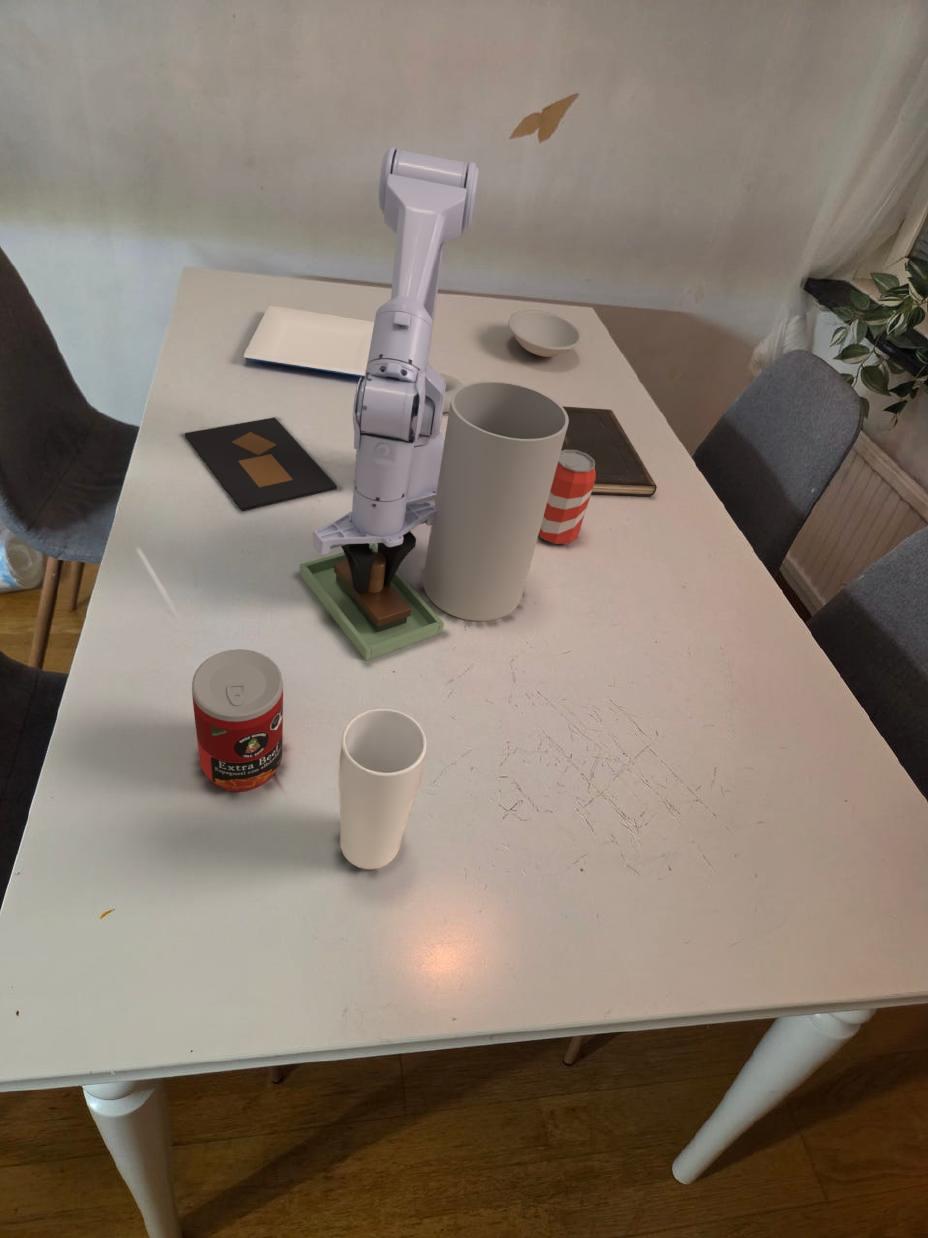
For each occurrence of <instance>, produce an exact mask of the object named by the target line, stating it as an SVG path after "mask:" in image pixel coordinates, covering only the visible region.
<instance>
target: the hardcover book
mask: <svg viewBox="0 0 928 1238" xmlns="http://www.w3.org/2000/svg"><path fill="white" fill-rule="evenodd" d="M561 406H562V407H563V408H564V409H565V411H566V413H567V415H568V418H569V423H568V427H567V431H566V434H565V438H564V442H563V445H562V449H561V451H563V450H577V451H580V452H583V453H586V454H588V455H589V456H590V457H591V458H592V459H593V460H594V461H595V471H596V479H595V483H594V486H593V489H592V492H591V495H595V496H596V495H599V496H620V497H621V496H623V497H649V498H650V497H653V496H654V495H655V493H656V491H657V488H658V486H657V484H656V482H655V481H654V479H653V477H652V476H651V474H650V473H649V470H648V469H647V466H645V463H644V462H643V461H642V459H641V457H640V455H639V453H638V452H637V450H636V449H635V447H634V445H633V444H632V442H631V440H630V438H629V437H628V434H627V433H626V432H625V430H624V428H623V425H621V423H620V422H619V420H618V418H617V416H616V414H615V412H614V411H613V410H612V409H609V408H608V409H607V408H595V407H593V408H591V407H577V406H563V405H561Z"/></svg>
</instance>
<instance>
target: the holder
mask: <svg viewBox="0 0 928 1238" xmlns="http://www.w3.org/2000/svg"><path fill="white" fill-rule="evenodd" d="M370 549H371V550H372V551H373V552H378V546H376V545H375V543H370ZM344 561H347V558H346V556H345V554H344V551H343V552H339V553H335V554H331V555H329V556H324V557H321V558H318V559H314V560H310V561H307V562H304V563H299V576H300V577H301V578H302V580H303V581H304V582H305V583H306V585H307V586H308V588H309V589H310V590H311V591H312V592H313V594H314V595H315V597H316V598H317V599H318V601H319V602H320V603H321V604H322V606H323V607H324V609H325V610H326V611H327V612H328V614H329V615H330V616H331V617H332V619H333V620H334V621H335V623H336V624H337V625H338V626H339V628H340V629H341V631H342V632H343V633H344V635H346V637H347V638H348V640H349V641H350V642H351V643H352V645H353V646H354V647H355V648H356V650H357V652H359V654H360V655H361V657H362V658H363V659H364V660H365V661H368V660H371V659H375V658H377V657H380V656H384V655H385V654H388V653H391V652H393V651H396V650H399V649H401V648H404V647H407V646H410V645H412V644H416V643H418V642H421V641H425V640H427V639H429V638H433V637H435V636H438V635H440V634H442V633H443V630H444V625H445V623H444V621H443V620H442V619H441V618H440V617H439V615H437V614H436V612H435V611H434V610H433V609H432V608H431V606H429V605H428V604H427V602H426V601H425V600H424V599H423V598H422V596H421V595H419V593H418V592H417V591H416V590H415V588H414V587H412V586H411V584H410V583H409V582H408V581H407V580H406V578H405V577H403V575H402V574H401V573H400V572H399V571H398V570H397V571H396V573H395V575H394V577H393V579H392V581H391V583H390V584H391V585H392V586H393V587H394V589H395V590H396V591H397V592H398V593H399V594H400V596H401V597H402V598H403V599H404V600H405V602H406V603H407V604H408V605H409V606H410V608H411V615H410V616H409V617H407V622H406V623H404V624H401V625H398V626H395V627H392V628H389V629H386V630H383V631H380V632H376V631H375V630H374V629H373V627H372V626H371V625H370V623H369V622H368V621H367V620H366V618H365V617H364V616H363V614H362V613H361V612H360V611H359V609H358V608H357V607H356V605H355V604H354V603H353V602H352V600H351V599H350V598H349V596H348V595H347V594H346V593H345V591H344V590H343V589H342V587H341V586H340V585H339V584H338V582H337V581H336V574H335V572H334V564H336V563H340V562H344Z"/></svg>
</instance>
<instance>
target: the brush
mask: <svg viewBox="0 0 928 1238" xmlns="http://www.w3.org/2000/svg"><path fill="white" fill-rule="evenodd" d="M374 554H375V555H376V556H377V558H376V559H375V561H374V563H373V565H372V568H371V571H370V576H369V585H368V590H367V592H366V593H363V594H360V592H359V591H358V590H357V589H356V588H355V586H354V585H353V581H352V575H351V571H350V567H349V564H348V561H344V562H340V563H336V564H334V572H335V574H336V581H337V582H338V584H339V585H340V586H341V587H342V589H343V590H344V591H345V593H346V594H347V595H348V596H349V598H350V599H351V600H352V602H353V603H354V604H355V605H356V607H357V608H358V609H359V611H360V612H361V613H362V614H363V616H364V617H365V618H366V620H367V621H368V622H369V623H370V625H371V626H372V627H373V629H374V630H375V631H376V632H380V631H383V630H386V629H389V628H392V627H395V626H398V625H401V624H404V623H406V622H407V617H409V616H410V615H411V608H410V606H409V605H408V604H407V603H406V602H405V600H404V599H403V598H402V597H401V596H400V594H399V593H398V592H397V591H396V590H395V589H394V587H393V586H392V585H391V584H390V585H389V586H386V587H385V586H384V577H385V568H386V557H385V556H384V555H383V554H381V553H378V552H374Z"/></svg>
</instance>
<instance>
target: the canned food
mask: <svg viewBox="0 0 928 1238" xmlns="http://www.w3.org/2000/svg"><path fill="white" fill-rule="evenodd" d="M191 695H192V696H191V697H192V707H193V714H194V723H195V725H194V726H195V732H196V734H195V735H196V743H197V749H198V750H197V751H198V758H199V765H200V768H201V770H202V772H203V773H204V774H205V776H206V778H207V779H208V780H209V781H210V782H211V783H212V784H213V785H215V786H217V788H220V789H223V790H227V791H229V792H230V791H231V792H245V791H251V790H254V789H257V788H259V787H261V786H263V785H264V784H266V783H267V782H268V781H270V780H271V779H272V777H274V775H275V774H276V772H277V771H278V768H279V767H280V764H281V762H282V759H283V742H284V741H283V739H284V738H283V737H284V735H283V733H284V726H283V725H284V682H283V676H282V672H281V669H280V668H279V666H278V665H277V664H276V662H275V661H274V660H273V659H271V658H270V657H269V656H267V655H265V654H263V653H262V652H258V651H255V650H251V649H240V648H239V649H237V648H236V649H228V650H225V651H220V652H218V653H216V654H213V655H211V656H210V657H208V658H207V659H205V660H204V661H203V662H202V663H201V664H200V665H199V666H198V668H197V669H196V671H195V672H194V674H193V676H192V681H191Z"/></svg>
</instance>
